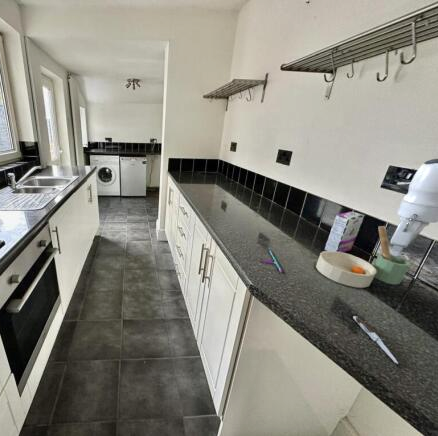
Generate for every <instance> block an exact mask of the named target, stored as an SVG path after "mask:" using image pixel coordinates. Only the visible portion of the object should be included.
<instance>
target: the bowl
mask: <svg viewBox="0 0 438 436" xmlns="http://www.w3.org/2000/svg"><path fill="white" fill-rule="evenodd" d="M373 265H374V264H371V263H370V262H369V261H367V260H365V259H363V258H360V257H357V256H356V255H353V254H350V253H347V252H337V251H327V250H323V251H322V252H320V253H319V256H318V258H317V261H316V264H315V268H316V269H317V271H318V272H319V273H320V274H321V275H323V276H324V277H326V278H327V279H329V280H331V281H333V282H336V283H338V284H342V285H344V286H348V287H352V288H367V287H370V286H371V284H372V283H373V281H374V279H375V275H376V273H377V271H376V269H375V268H374V267H373ZM355 266H358V267H361V268H362V269H363V271H364V273H363V274H356V273H352V272H351V269H352V268H353V267H355Z"/></svg>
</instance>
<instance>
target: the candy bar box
mask: <svg viewBox="0 0 438 436" xmlns="http://www.w3.org/2000/svg"><path fill="white" fill-rule="evenodd" d="M365 216H366V215H365V214H362V213H360V212H356V211H348V212H343V213H339V214H336V215H335V216H334V220H333V224H332V226H331V229H330V232H329V235H328V236H327V237H328V238H327V240H326V243H325V246H324V251H337V252H343V253H347V252H349V251H351V250H352V248H353V246H354V244H355V241H356V238H357V236H358V234H359V231H360V228H361V226H362V223H363V221H364V219H365Z"/></svg>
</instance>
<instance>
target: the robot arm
mask: <svg viewBox="0 0 438 436" xmlns="http://www.w3.org/2000/svg"><path fill="white" fill-rule="evenodd" d="M416 170H417V171H416V172H415V174H414V175H413V177H412V179H411V180H410V183H409V185H408V192H407V193H406V194H405V196H404V197H403V198H402V199H401V202H400V203H399V206H398V208H397V210H396V215H397V216H399V220H400V222H399V223H398V225H397V227H396V229H395V231H394V233H393V235H392V237H391V239H390V244H391V245H393V246H392V249H391V251H390V254H392V255H394V256H399V257H400V255H401V253H402V251H403V250H404V249H407V247H408V246H409V245H410V244H411V243H412V242H413V241H414V240H415V239H416V237H418V235H420V234H421V232H422V231H423V230H424V229H425V227H429V226H430V224H431V223H433V224H435V223H438V158H432V159H429V160H426V161H425V162H423V163H422V164H421V165H420V166H419V167H418V169H416Z"/></svg>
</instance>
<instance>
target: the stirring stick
mask: <svg viewBox="0 0 438 436" xmlns="http://www.w3.org/2000/svg"><path fill="white" fill-rule="evenodd" d="M377 227H378V236H379V241H380V242H379V243H380V247H381V253H382V254H383V258H385V259H386V260H389V261H391V257H390V254H391V251H390V245H389V239H388V233H387V227H386V226H385V225H379V226H377Z"/></svg>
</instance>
